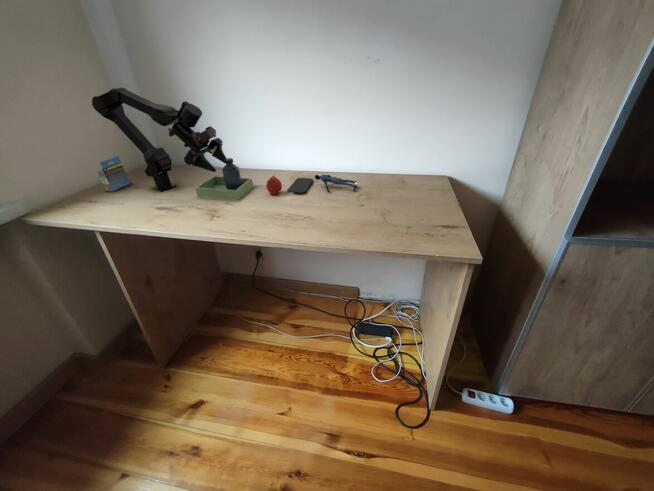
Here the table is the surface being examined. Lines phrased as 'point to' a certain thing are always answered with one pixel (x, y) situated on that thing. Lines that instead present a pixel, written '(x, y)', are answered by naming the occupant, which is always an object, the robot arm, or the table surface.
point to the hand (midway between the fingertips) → (222, 167)
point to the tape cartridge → (113, 175)
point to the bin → (222, 188)
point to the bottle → (231, 175)
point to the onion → (274, 185)
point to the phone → (300, 185)
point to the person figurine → (336, 181)
